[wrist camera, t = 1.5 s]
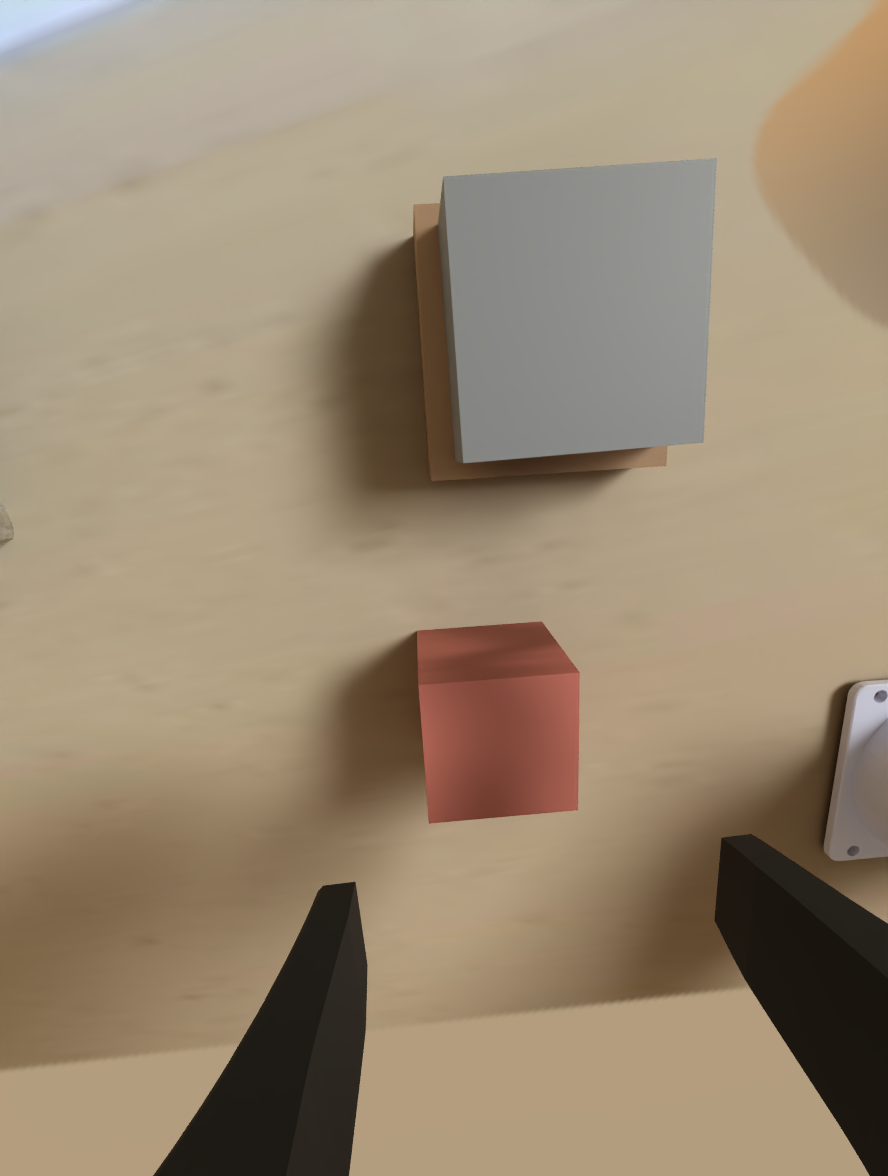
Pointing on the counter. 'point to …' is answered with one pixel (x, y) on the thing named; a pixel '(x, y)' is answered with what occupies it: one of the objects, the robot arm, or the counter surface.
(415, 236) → the walnut block
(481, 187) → the slate block
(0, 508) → the egg carton
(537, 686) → the cube
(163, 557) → the counter surface
